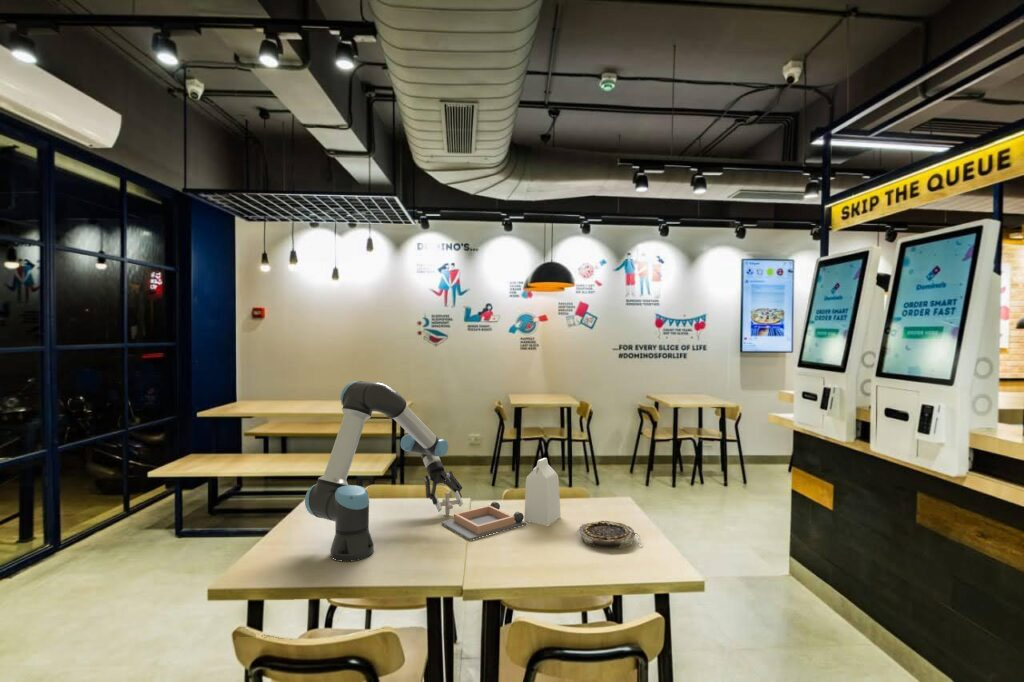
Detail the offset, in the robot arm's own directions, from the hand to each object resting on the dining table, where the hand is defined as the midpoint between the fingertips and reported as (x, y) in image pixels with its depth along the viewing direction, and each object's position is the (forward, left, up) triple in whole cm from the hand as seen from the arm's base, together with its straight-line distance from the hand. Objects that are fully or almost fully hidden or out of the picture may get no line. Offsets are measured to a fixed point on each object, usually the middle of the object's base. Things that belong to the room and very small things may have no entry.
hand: (450, 507), depth 222 cm
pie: (+35, -59, -5) cm, 69 cm away
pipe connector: (0, +3, -4) cm, 5 cm away
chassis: (+6, -17, -4) cm, 18 cm away
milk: (+30, -27, -4) cm, 41 cm away
